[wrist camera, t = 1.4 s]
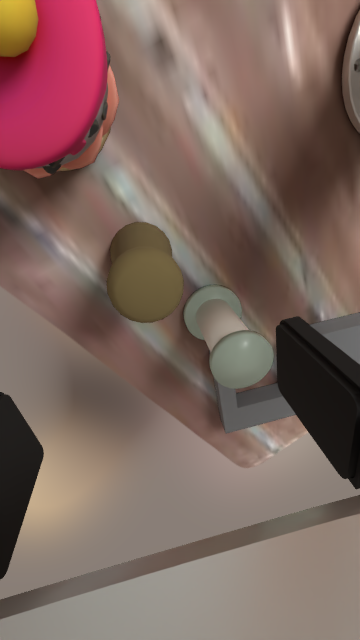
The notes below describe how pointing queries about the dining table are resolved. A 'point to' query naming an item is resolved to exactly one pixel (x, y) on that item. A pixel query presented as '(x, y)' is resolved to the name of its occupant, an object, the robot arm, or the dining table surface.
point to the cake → (53, 85)
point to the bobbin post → (227, 337)
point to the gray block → (267, 402)
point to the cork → (143, 274)
